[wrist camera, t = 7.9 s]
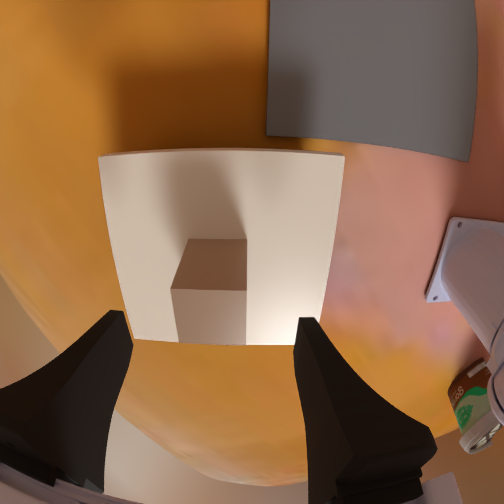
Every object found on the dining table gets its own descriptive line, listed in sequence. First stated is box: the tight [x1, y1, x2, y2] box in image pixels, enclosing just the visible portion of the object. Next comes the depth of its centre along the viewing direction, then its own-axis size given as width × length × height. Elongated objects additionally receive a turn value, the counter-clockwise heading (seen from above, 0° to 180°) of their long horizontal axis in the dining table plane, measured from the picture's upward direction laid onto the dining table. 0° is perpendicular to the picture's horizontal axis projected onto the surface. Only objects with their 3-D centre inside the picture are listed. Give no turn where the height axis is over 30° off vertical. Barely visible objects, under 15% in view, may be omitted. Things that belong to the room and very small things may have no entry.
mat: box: [266, 0, 478, 162], centre depth 14 cm, size 15×15×1 cm
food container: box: [448, 358, 503, 454], centre depth 27 cm, size 12×6×10 cm, turn 21°
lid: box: [98, 148, 345, 345], centre depth 15 cm, size 12×12×5 cm
